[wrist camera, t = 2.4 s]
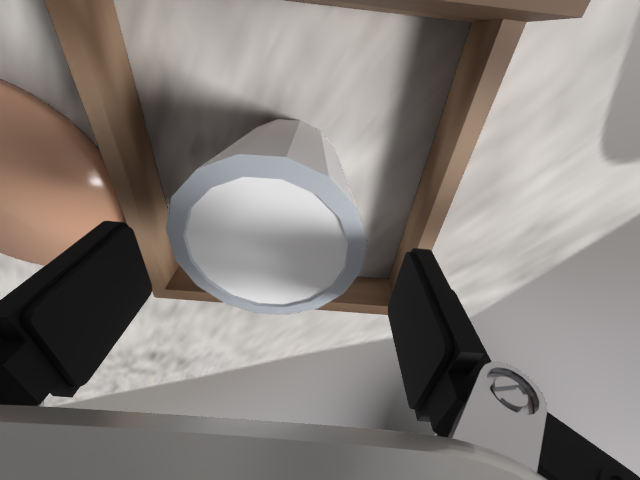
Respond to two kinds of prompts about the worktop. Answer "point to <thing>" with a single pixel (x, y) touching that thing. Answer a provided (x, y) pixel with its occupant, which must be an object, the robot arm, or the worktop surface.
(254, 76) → the worktop surface
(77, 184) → the tan flat disc
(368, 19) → the worktop surface
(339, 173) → the white cup
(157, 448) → the robot arm
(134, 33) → the worktop surface
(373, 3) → the frame
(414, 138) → the worktop surface
